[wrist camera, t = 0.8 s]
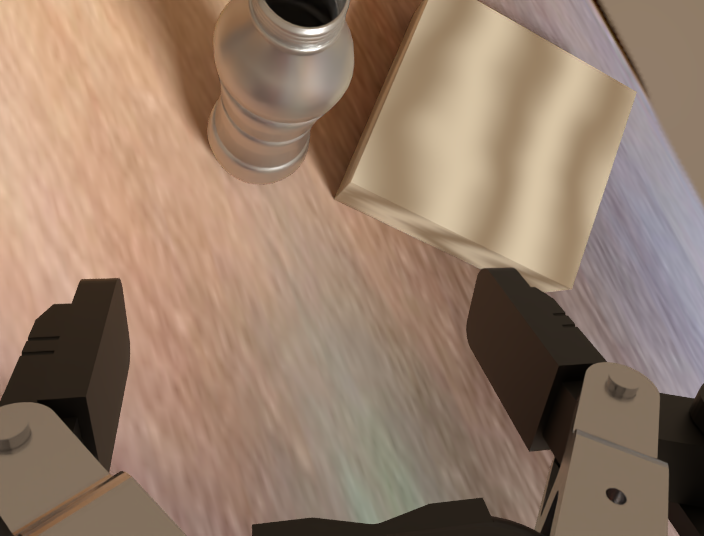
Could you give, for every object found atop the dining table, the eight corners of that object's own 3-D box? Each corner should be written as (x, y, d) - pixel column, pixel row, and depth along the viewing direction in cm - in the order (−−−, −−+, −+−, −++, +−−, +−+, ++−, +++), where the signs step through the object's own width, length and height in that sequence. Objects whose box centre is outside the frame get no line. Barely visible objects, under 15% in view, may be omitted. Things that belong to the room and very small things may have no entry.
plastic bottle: (233, 84, 41) (259, -132, 22) (318, 131, 42) (414, -35, 23) (189, 162, 40) (177, 5, 21) (279, 209, 41) (346, 101, 22)
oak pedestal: (334, 199, 42) (350, 182, 37) (412, 15, 45) (437, -22, 40) (532, 293, 45) (571, 289, 41) (593, 115, 48) (636, 92, 44)
